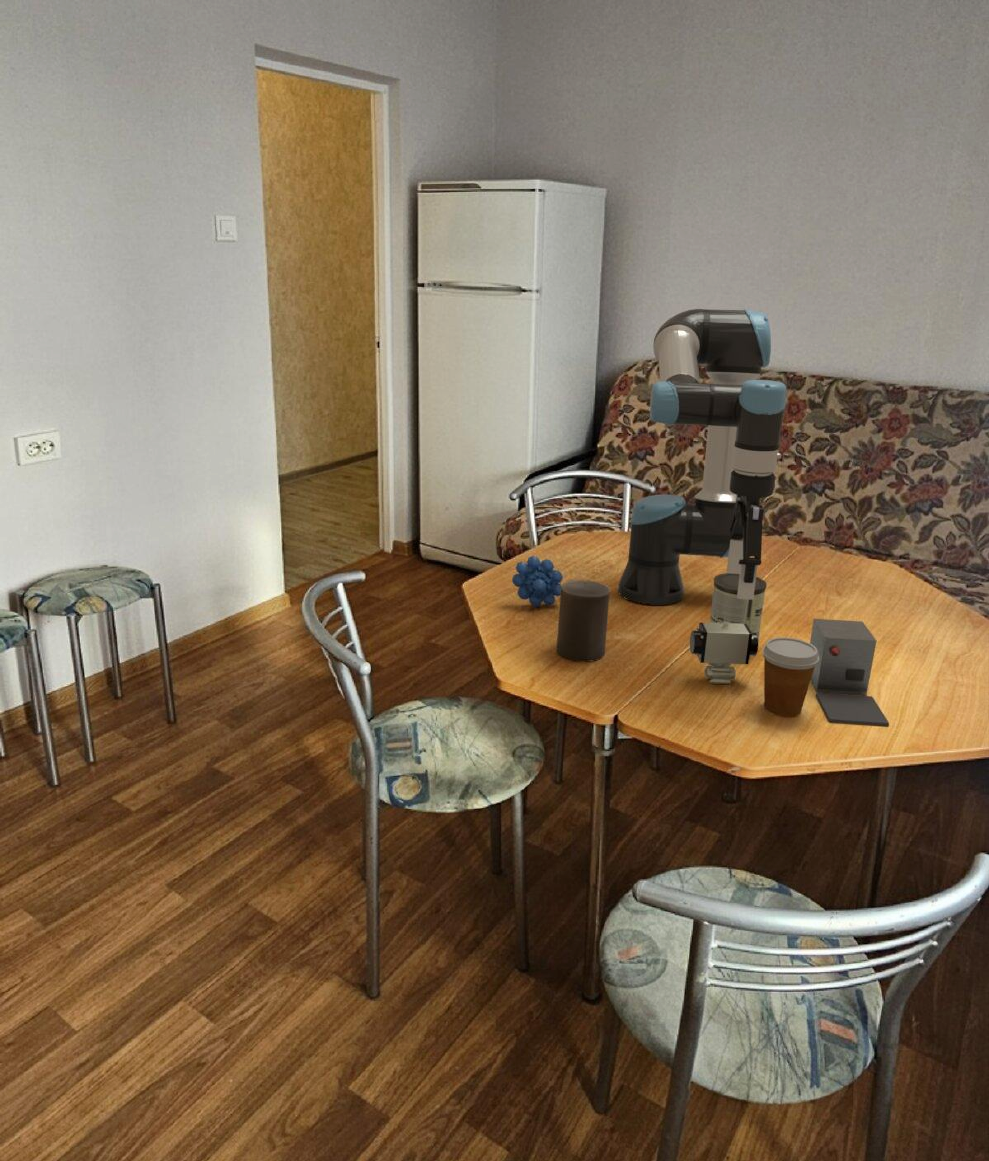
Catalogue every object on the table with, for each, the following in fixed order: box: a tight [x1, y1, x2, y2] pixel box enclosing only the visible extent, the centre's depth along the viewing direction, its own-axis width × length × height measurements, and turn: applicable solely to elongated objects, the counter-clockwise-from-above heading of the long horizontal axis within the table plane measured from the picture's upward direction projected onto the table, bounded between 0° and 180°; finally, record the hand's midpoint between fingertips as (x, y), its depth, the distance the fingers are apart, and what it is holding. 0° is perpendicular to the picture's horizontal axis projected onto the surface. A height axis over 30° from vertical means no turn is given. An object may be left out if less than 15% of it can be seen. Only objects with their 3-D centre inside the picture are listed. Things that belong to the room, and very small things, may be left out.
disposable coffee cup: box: [761, 637, 819, 718], centre depth 159 cm, size 10×10×12 cm
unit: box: [809, 618, 877, 696], centre depth 169 cm, size 9×10×11 cm
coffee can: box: [709, 572, 767, 642], centre depth 184 cm, size 10×10×14 cm
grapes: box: [511, 555, 564, 607], centre depth 201 cm, size 12×7×12 cm, turn 96°
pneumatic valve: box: [689, 622, 759, 685], centre depth 169 cm, size 6×12×12 cm, turn 89°
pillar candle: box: [556, 579, 611, 662], centre depth 179 cm, size 10×10×15 cm
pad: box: [815, 692, 890, 727], centre depth 161 cm, size 10×10×1 cm
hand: (739, 585), depth 165 cm, fingers open, 13 cm apart
